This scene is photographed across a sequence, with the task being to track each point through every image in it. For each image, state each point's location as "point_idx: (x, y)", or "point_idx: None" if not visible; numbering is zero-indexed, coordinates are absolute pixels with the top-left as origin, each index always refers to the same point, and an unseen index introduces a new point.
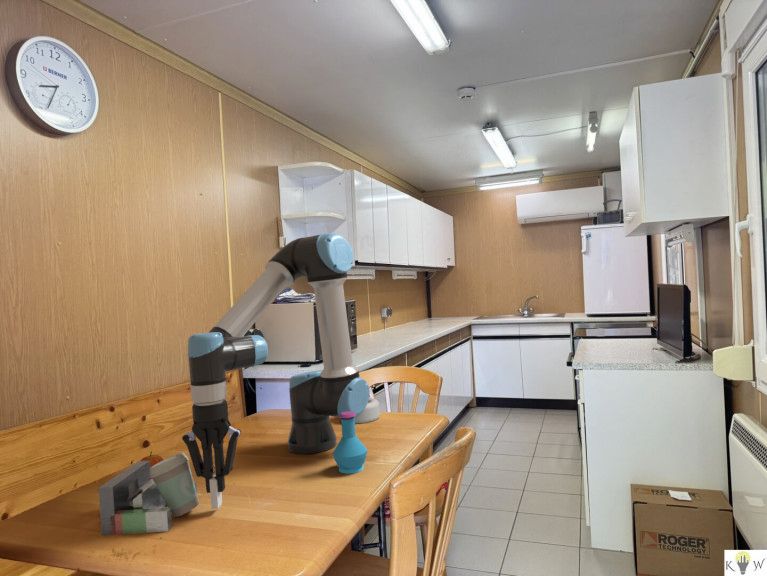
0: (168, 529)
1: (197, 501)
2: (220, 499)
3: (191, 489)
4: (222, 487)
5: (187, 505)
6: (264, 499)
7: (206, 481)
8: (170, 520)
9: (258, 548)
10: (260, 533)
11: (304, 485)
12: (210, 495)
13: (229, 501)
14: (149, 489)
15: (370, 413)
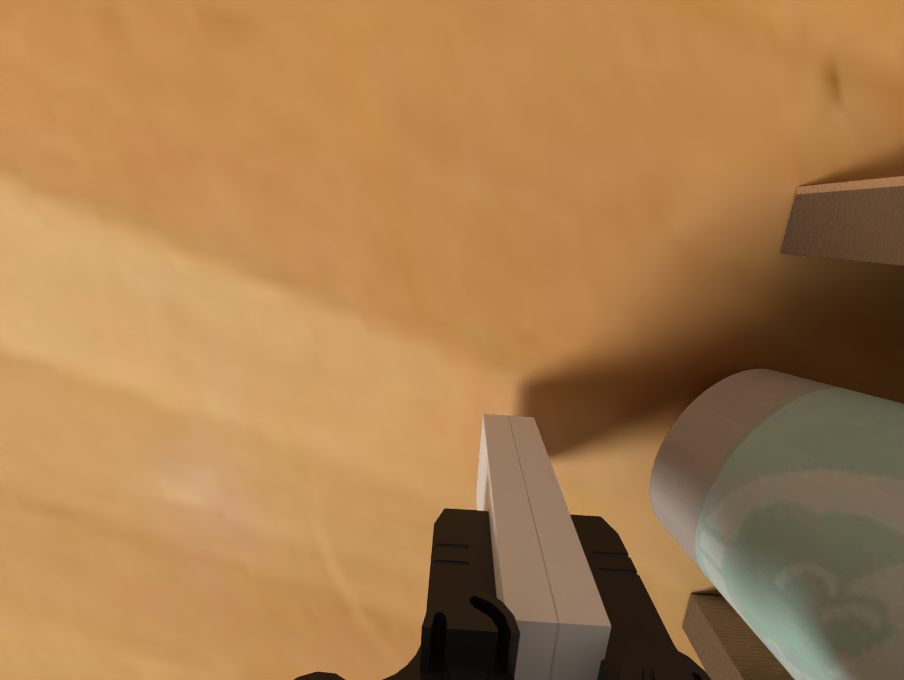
0: (801, 198)
1: (669, 488)
2: (480, 494)
3: (798, 554)
4: (436, 541)
5: (743, 412)
6: (236, 550)
7: (651, 627)
8: (831, 246)
9: None
10: (39, 13)
11: (57, 677)
12: (556, 478)
13: None
14: None
15: None
